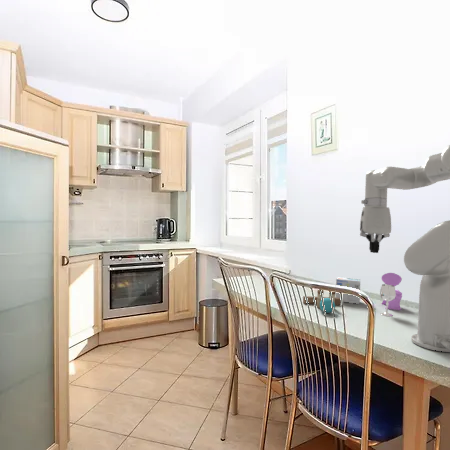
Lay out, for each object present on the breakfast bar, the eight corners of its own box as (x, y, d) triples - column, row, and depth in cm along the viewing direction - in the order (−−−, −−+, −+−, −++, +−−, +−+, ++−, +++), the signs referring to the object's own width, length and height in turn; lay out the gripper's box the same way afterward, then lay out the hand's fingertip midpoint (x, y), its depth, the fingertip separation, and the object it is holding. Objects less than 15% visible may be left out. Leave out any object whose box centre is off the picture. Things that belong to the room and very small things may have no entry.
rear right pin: (335, 309, 141) (336, 289, 141) (329, 309, 141) (330, 289, 141) (333, 307, 144) (334, 288, 144) (327, 307, 144) (328, 287, 144)
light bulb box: (359, 301, 157) (360, 278, 157) (359, 304, 151) (360, 281, 151) (335, 298, 161) (336, 276, 161) (334, 301, 155) (336, 278, 155)
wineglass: (391, 313, 139) (392, 284, 138) (396, 317, 133) (398, 287, 132) (376, 312, 139) (378, 283, 139) (381, 316, 133) (383, 286, 133)
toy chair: (383, 308, 145) (385, 274, 145) (378, 303, 154) (380, 271, 154) (404, 310, 144) (405, 276, 143) (398, 305, 152) (400, 272, 152)
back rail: (340, 305, 148) (340, 298, 148) (303, 303, 148) (304, 297, 148) (338, 304, 150) (338, 297, 150) (302, 302, 150) (303, 296, 150)
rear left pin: (323, 308, 141) (324, 288, 141) (317, 308, 141) (318, 288, 141) (321, 307, 144) (322, 287, 144) (316, 306, 144) (316, 287, 144)
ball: (329, 299, 140) (335, 312, 137) (316, 302, 139) (321, 316, 136) (332, 294, 135) (339, 308, 132) (318, 297, 134) (324, 312, 131)
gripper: (360, 202, 121) (358, 252, 121) (400, 203, 121) (399, 254, 121) (352, 203, 129) (350, 251, 129) (390, 204, 129) (389, 252, 129)
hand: (374, 252), depth 125 cm, fingers closed
